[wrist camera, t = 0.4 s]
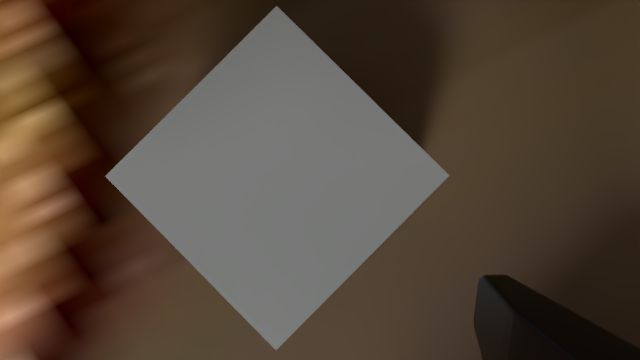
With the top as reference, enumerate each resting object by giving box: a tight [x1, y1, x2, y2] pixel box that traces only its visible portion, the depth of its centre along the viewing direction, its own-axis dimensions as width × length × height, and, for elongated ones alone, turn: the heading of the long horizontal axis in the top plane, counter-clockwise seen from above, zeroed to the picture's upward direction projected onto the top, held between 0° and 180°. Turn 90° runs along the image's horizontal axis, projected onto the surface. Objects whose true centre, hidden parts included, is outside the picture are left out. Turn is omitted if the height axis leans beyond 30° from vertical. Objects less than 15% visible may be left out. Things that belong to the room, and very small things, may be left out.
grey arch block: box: [105, 6, 449, 350], centre depth 19 cm, size 7×7×7 cm
